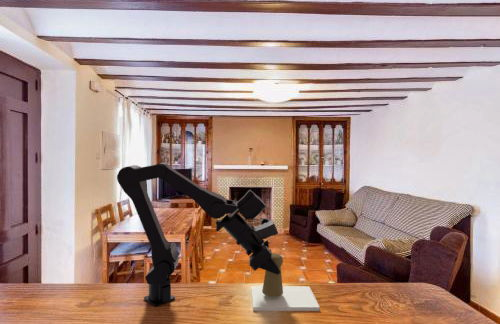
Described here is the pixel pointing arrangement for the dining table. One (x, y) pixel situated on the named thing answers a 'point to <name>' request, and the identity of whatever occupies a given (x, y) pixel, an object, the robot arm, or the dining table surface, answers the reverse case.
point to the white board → (285, 299)
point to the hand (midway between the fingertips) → (278, 269)
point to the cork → (273, 279)
